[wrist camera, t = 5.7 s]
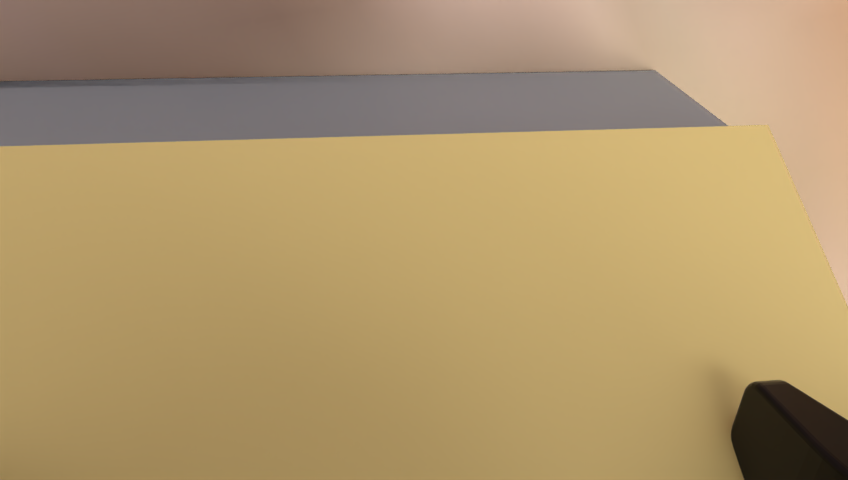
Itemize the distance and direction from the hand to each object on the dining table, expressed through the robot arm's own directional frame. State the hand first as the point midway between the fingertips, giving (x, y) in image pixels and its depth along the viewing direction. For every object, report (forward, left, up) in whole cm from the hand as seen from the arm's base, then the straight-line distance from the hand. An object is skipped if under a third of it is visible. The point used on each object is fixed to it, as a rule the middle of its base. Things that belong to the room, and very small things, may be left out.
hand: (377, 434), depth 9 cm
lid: (0, 0, -1) cm, 1 cm away
